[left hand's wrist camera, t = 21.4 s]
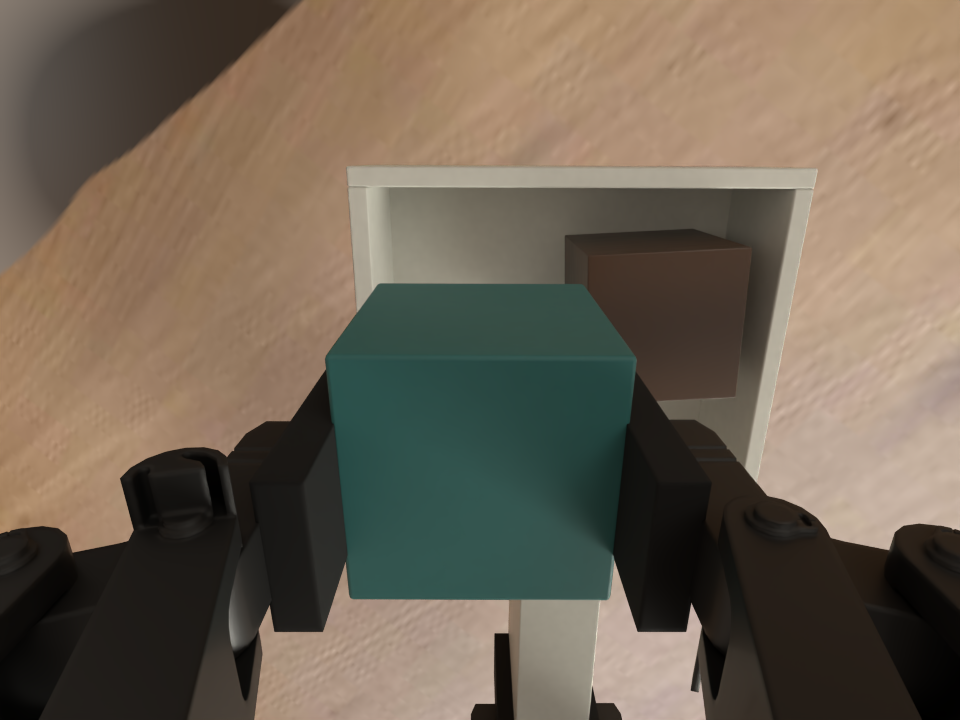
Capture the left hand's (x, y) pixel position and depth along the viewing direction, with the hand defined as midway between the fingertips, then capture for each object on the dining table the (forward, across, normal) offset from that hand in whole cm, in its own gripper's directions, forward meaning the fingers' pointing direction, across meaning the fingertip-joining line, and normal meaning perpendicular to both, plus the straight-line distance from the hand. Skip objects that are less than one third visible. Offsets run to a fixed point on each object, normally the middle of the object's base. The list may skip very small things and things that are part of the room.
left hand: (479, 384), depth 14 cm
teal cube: (0, 0, 0) cm, 0 cm away
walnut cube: (+9, +6, 0) cm, 11 cm away
